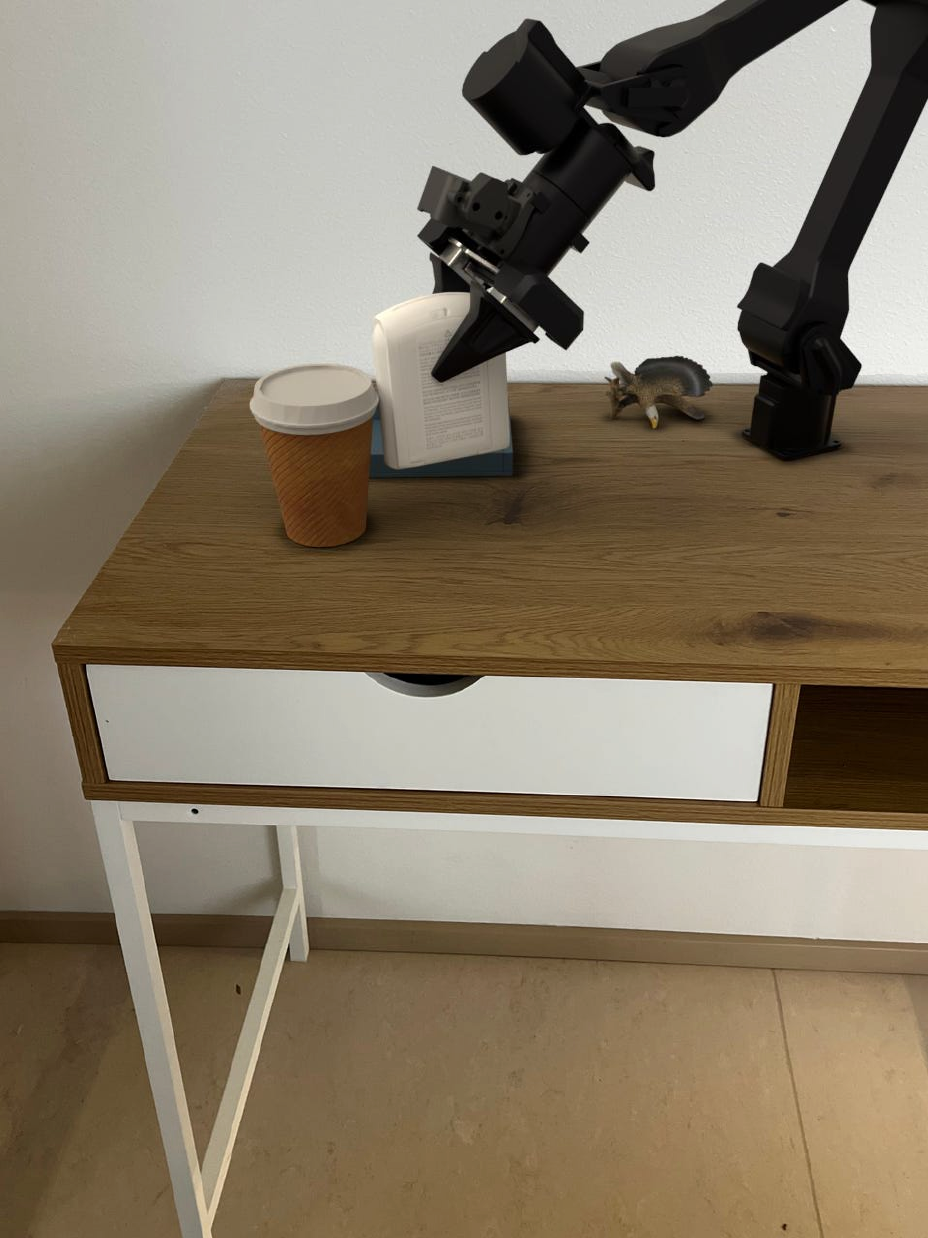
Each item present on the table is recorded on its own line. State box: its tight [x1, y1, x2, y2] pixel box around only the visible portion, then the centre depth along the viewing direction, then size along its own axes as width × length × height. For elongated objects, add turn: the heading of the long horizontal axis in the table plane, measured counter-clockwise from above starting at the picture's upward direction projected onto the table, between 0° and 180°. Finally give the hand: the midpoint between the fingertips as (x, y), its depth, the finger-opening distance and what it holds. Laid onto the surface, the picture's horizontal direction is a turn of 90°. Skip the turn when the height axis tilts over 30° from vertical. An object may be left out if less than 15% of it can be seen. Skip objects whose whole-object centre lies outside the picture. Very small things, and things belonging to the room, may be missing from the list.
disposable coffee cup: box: [249, 363, 379, 548], centre depth 87 cm, size 10×10×12 cm
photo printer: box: [371, 292, 510, 470], centre depth 86 cm, size 10×4×12 cm, turn 112°
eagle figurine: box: [604, 355, 713, 429], centre depth 106 cm, size 8×7×9 cm
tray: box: [369, 397, 514, 479], centre depth 103 cm, size 18×13×2 cm
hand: (424, 368), depth 86 cm, fingers closed on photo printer, 4 cm apart
